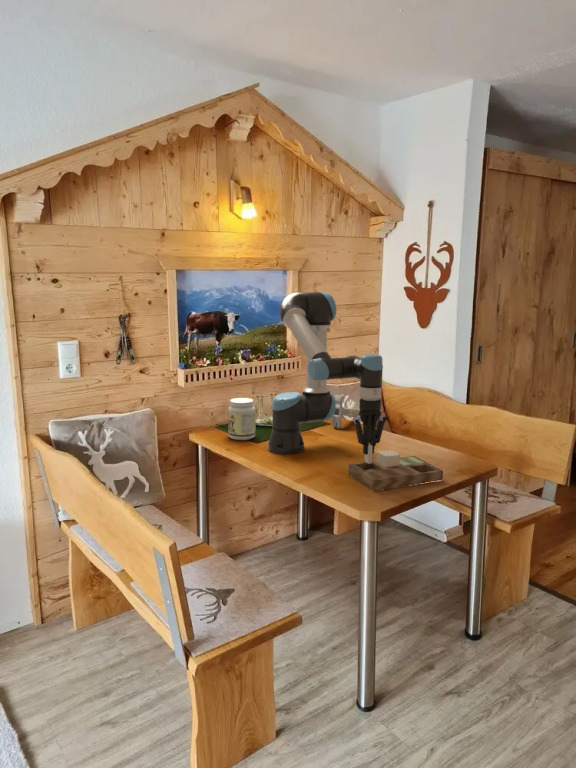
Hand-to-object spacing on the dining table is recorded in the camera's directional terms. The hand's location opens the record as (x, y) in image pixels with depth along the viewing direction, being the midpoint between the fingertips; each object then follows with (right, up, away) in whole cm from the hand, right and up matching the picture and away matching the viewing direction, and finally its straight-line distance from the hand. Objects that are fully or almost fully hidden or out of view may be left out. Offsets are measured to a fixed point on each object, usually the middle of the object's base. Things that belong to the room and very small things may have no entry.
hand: (368, 462), depth 205 cm
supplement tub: (-50, +4, +51) cm, 71 cm away
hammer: (+1, +9, +77) cm, 77 cm away
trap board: (+10, -6, 0) cm, 11 cm away
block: (+8, -1, +3) cm, 8 cm away
